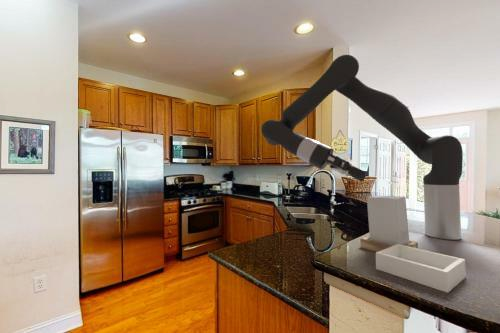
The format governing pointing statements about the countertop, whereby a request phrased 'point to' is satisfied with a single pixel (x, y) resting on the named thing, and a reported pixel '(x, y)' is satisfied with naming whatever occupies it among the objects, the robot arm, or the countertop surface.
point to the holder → (380, 244)
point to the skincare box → (388, 219)
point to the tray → (422, 266)
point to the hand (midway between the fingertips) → (364, 177)
